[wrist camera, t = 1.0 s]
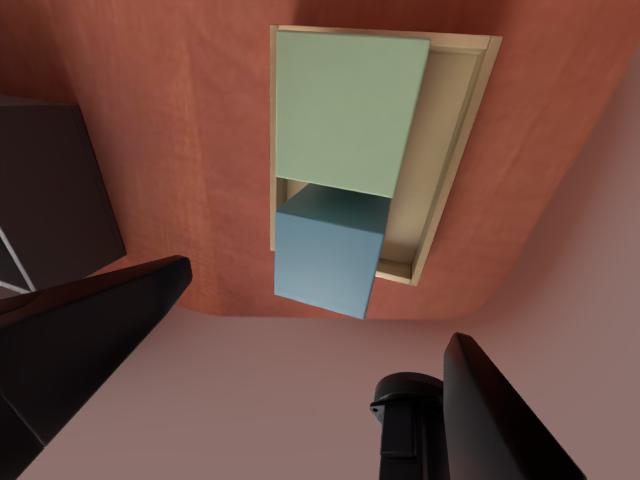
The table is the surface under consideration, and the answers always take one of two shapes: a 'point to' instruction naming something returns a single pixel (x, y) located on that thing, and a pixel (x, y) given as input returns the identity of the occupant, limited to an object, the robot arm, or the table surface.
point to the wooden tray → (414, 143)
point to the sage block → (346, 107)
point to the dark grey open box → (50, 198)
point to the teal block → (329, 247)
